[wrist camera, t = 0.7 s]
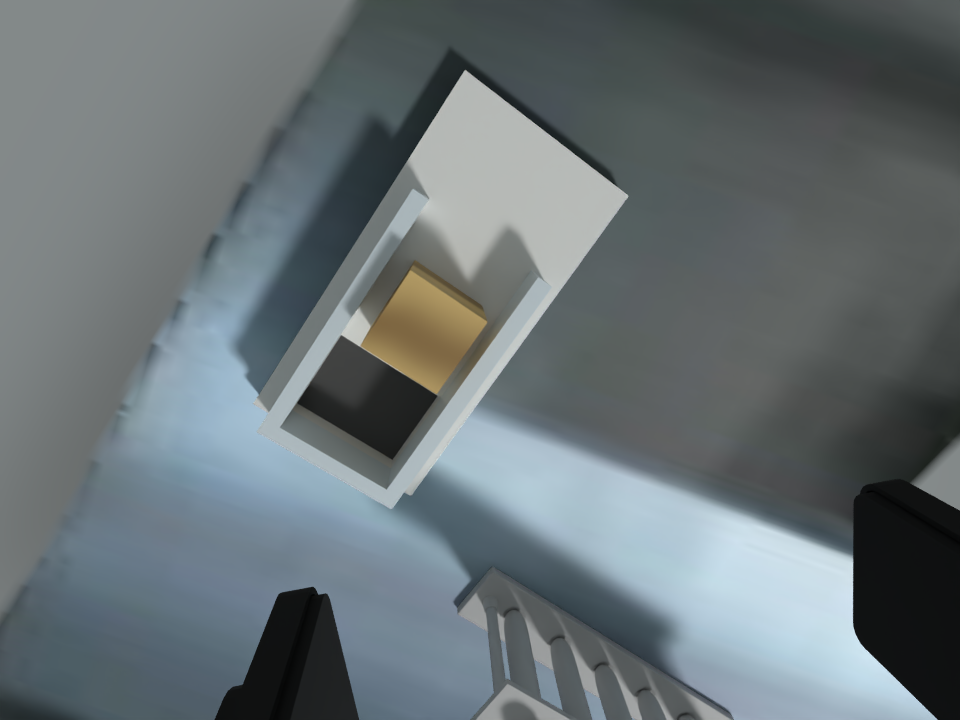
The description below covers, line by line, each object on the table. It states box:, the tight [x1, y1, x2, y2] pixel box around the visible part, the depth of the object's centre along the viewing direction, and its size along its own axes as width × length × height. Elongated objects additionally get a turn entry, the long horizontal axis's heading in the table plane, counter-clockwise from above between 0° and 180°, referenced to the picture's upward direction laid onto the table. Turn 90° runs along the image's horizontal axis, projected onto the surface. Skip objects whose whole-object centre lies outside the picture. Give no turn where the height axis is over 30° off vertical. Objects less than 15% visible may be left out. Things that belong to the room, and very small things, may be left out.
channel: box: [253, 70, 628, 509], centre depth 36 cm, size 24×12×4 cm, turn 145°
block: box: [361, 260, 488, 394], centre depth 35 cm, size 5×5×5 cm
